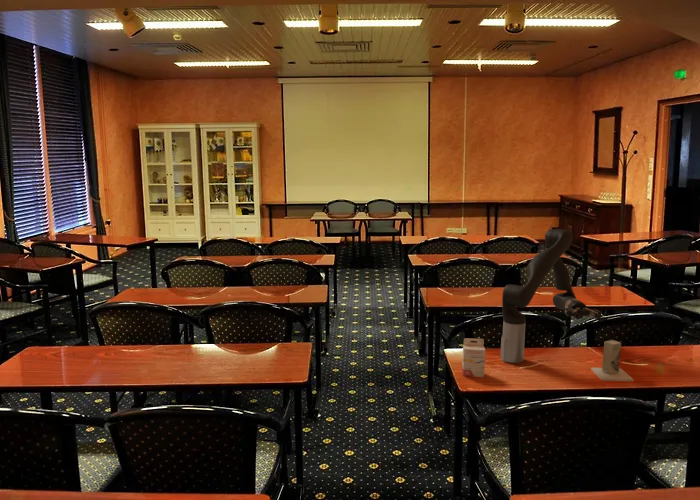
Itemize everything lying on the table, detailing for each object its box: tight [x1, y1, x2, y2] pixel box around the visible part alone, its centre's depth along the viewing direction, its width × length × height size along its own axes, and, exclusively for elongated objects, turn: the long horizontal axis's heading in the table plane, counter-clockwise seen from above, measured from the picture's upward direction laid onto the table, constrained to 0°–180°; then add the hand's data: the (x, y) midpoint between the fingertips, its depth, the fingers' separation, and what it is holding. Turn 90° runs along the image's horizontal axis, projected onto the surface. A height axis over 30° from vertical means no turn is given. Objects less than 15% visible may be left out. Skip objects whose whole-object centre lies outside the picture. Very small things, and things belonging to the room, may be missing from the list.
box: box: [601, 339, 622, 374], centre depth 226 cm, size 5×4×13 cm
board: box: [590, 367, 634, 382], centre depth 226 cm, size 12×12×1 cm
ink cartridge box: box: [461, 337, 486, 378], centre depth 226 cm, size 9×5×15 cm, turn 84°
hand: (588, 317), depth 237 cm, fingers open, 8 cm apart
